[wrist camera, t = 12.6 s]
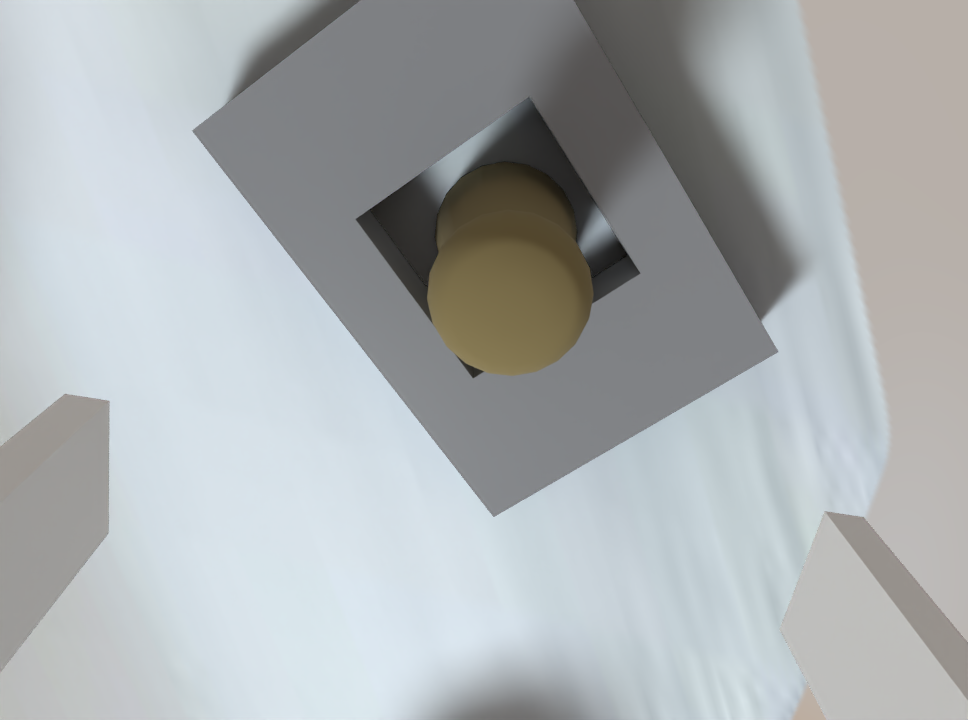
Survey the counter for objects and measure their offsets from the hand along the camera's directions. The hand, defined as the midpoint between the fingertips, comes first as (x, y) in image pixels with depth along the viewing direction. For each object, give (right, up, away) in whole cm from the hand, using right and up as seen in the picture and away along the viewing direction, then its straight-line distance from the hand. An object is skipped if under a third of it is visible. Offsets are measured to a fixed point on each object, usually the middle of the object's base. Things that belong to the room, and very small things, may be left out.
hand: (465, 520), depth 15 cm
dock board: (+1, +8, +19) cm, 21 cm away
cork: (+1, +8, +19) cm, 21 cm away
